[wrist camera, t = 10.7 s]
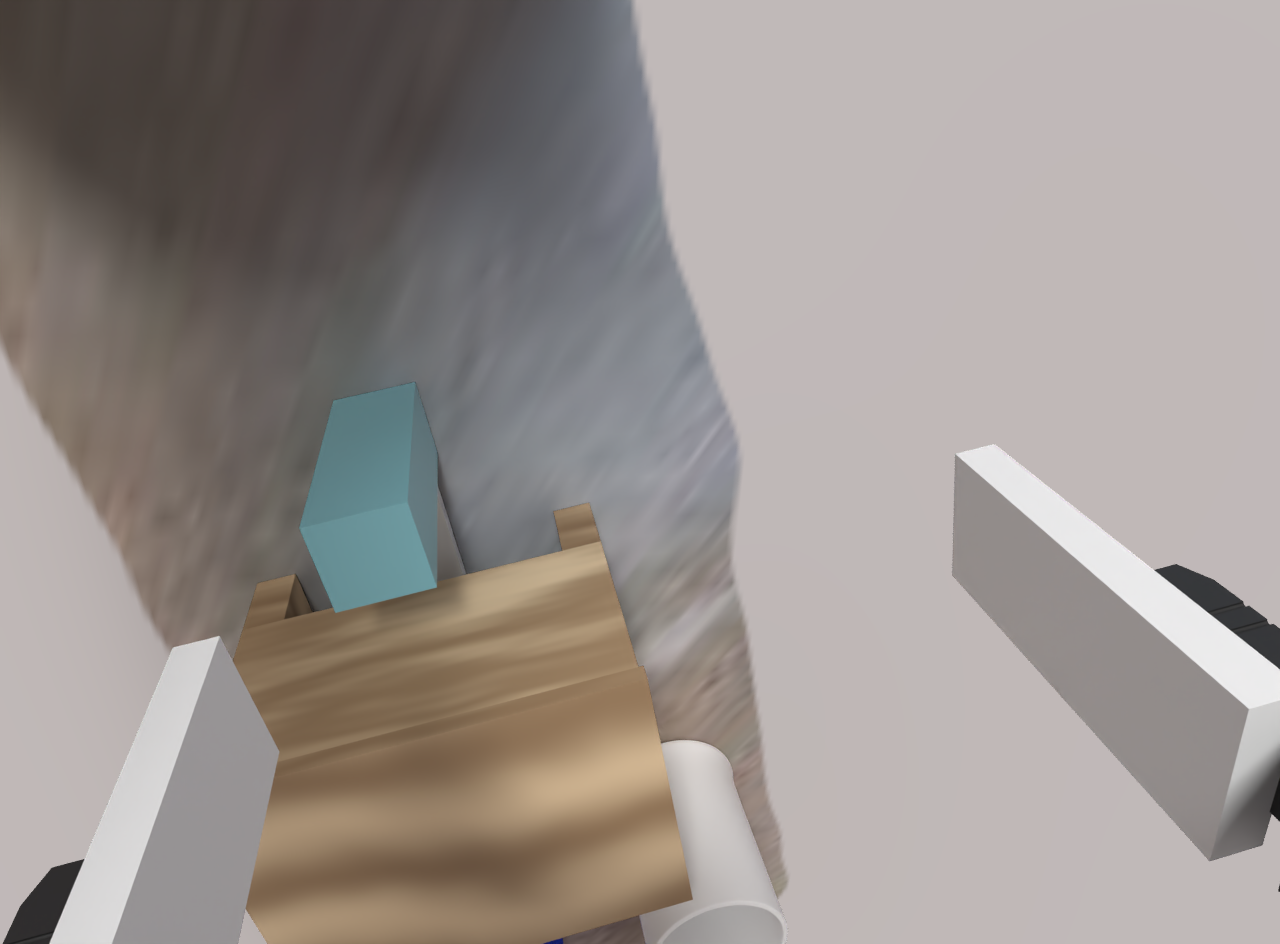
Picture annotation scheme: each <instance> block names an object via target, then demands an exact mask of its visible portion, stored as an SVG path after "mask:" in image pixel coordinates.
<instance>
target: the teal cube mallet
mask: <svg viewBox="0 0 1280 944" xmlns="http://www.w3.org/2000/svg"><path fill="white" fill-rule="evenodd" d="M437 469H438V452H437V449H436V446H435V443H434V440H433V437H432V434H431V430H430V427H429V424H428V421H427V418H426V415H425V411H424V408H423V405H422V402H421V399H420V396H419V392H418V389H417V386H416V383H415V382H413V383H408V384H404V385H399V386H395V387H391V388H386V389H382V390H378V391H373V392H369V393H364V394H360V395H356V396H351V397H347V398H343V399H338V400H334V401H333V404H332V408H331V412H330V415H329V419H328V423H327V427H326V430H325V434H324V438H323V441H322V445H321V449H320V453H319V456H318V460H317V464H316V468H315V471H314V475H313V479H312V483H311V486H310V490H309V494H308V497H307V501H306V505H305V509H304V512H303V516H302V520H301V524H300V527H299V529H300V531H301V534H302V536H303V538H304V541H305V543H306V545H307V548H308V550H309V552H310V555H311V557H312V559H313V562H314V564H315V566H316V569H317V571H318V573H319V576H320V578H321V580H322V583H323V585H324V587H325V590H326V592H327V594H328V597H329V599H330V601H331V604H332V606H333V609H334V611H335V613H337V612H341V611H345V610H349V609H353V608H357V607H361V606H365V605H369V604H373V603H377V602H381V601H385V600H389V599H393V598H397V597H401V596H405V595H409V594H413V593H417V592H421V591H425V590H429V589H433V588H437V582H438V581H442V580H446V579H450V578H454V577H458V576H462V575H466V571H465V568H464V565H463V562H462V559H461V556H460V553H459V550H458V547H457V543H456V540H455V537H454V534H453V531H452V528H451V525H450V522H449V519H448V516H447V513H446V509H445V506H444V503H443V500H442V497H441V494H440V491H439V488H438V485H437Z"/></svg>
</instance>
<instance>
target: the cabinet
mask: <svg viewBox="0 0 1280 944" xmlns="http://www.w3.org/2000/svg"><path fill="white" fill-rule="evenodd" d="M553 512H554V516H555V520H556V525H557V529H558V534H559V538H560V543H561V547H562V551H559V552H555V553H551V554H547V555H543V556H539V557H535V558H531V559H527V560H523V561H519V562H515V563H511V564H507V565H503V566H499V567H495V568H491V569H487V570H483V571H479V572H475V573H471V574H466V575H462V576H458V577H454V578H450V579H446V580H442V581H438V582H437V588H433V589H429V590H425V591H421V592H417V593H413V594H409V595H405V596H401V597H397V598H393V599H389V600H385V601H381V602H377V603H373V604H369V605H365V606H361V607H357V608H353V609H349V610H345V611H341V612H337V613H335V611H334V609H333V608H329V609H325V610H321V611H317V612H312V610H311V608H310V606H309V603H308V601H307V599H306V597H305V594H304V592H303V590H302V587H301V585H300V583H299V581H298V578H297V576H296V574H293V575H289V576H285V577H281V578H277V579H273V580H268V581H264V582H260V583H257V586H256V589H255V593H254V596H253V599H252V602H251V605H250V608H249V612H248V615H247V618H246V621H245V624H244V627H243V630H242V634H241V637H240V640H239V643H238V646H237V649H236V653H235V656H234V659H233V663H234V665H235V667H236V669H237V670H238V672H239V674H240V676H241V678H242V680H243V682H244V684H245V686H246V688H247V690H248V692H249V694H250V696H251V698H252V700H253V702H254V703H255V705H256V707H257V709H258V711H259V713H260V715H261V717H262V719H263V721H264V723H265V725H266V727H267V729H268V731H269V733H270V734H271V736H272V738H273V740H274V742H275V744H276V746H277V748H278V750H279V756H278V761H277V765H276V770H275V774H274V779H273V784H272V788H271V793H270V798H269V802H268V807H267V811H266V816H265V821H264V825H263V830H262V835H261V839H260V844H259V849H258V853H257V858H256V862H255V867H254V872H253V876H252V881H251V886H250V890H249V895H248V900H247V904H246V910H247V912H248V913H249V914H250V916H251V918H252V920H253V921H254V923H255V924H256V926H257V927H258V929H259V931H260V932H261V934H262V935H263V937H264V939H265V940H266V942H267V944H543V943H546V942H550V941H553V940H556V939H560V938H563V937H567V936H570V935H574V934H577V933H580V932H584V931H587V930H591V929H594V928H598V927H601V926H604V925H608V924H611V923H615V922H618V921H622V920H625V919H628V918H632V917H635V916H639V915H642V914H646V913H649V912H652V911H656V910H659V909H663V908H666V907H670V906H673V905H676V904H680V903H683V902H687V901H690V900H693V897H692V892H691V887H690V883H689V878H688V873H687V868H686V863H685V858H684V853H683V849H682V844H681V839H680V834H679V829H678V824H677V820H676V815H675V810H674V805H673V800H672V795H671V790H670V786H669V781H668V776H667V771H666V766H665V761H664V756H663V752H662V747H661V742H660V737H659V732H658V727H657V723H656V718H655V713H654V708H653V703H652V698H651V693H650V689H649V684H648V679H647V676H646V672H645V669H644V666H640V667H638V664H637V661H636V657H635V654H634V651H633V647H632V644H631V641H630V637H629V634H628V631H627V627H626V624H625V621H624V617H623V614H622V611H621V607H620V604H619V601H618V597H617V594H616V591H615V587H614V584H613V581H612V577H611V574H610V571H609V567H608V564H607V561H606V557H605V554H604V551H603V547H602V544H601V541H600V537H599V534H598V531H597V527H596V524H595V521H594V517H593V514H592V511H591V507H590V504H589V503H585V504H581V505H577V506H573V507H569V508H565V509H561V510H557V511H553Z"/></svg>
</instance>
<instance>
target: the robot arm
mask: <svg viewBox="0 0 1280 944" xmlns="http://www.w3.org/2000/svg"><path fill="white" fill-rule="evenodd" d="M953 526H954V527H953V565H952V566H953V567H952V568H953V569H952V575H953V577H954V578H955V579H956V580H957V581H958V582H959V583H960V585H961V586H962V587H963V588H964V589H965V590H966V591H967V592H968V593H969V595H971V597H972V598H973V599H974V600H975V601H976V602H977V603H978V604H979V606H980V607H981V608H982V609H983V610H984V611H985V612H986V613H987V615H988V616H989V617H990V618H991V619H992V620H993V621H994V622H995V623H996V624H997V626H998V627H999V628H1000V629H1001V630H1002V631H1003V632H1004V633H1005V634H1006V636H1007V637H1008V638H1009V639H1010V640H1011V641H1012V642H1013V643H1014V644H1015V646H1016V647H1017V648H1018V649H1019V650H1020V651H1021V652H1022V653H1023V655H1024V656H1025V657H1026V658H1027V659H1028V660H1029V661H1030V662H1031V663H1032V664H1033V665H1034V667H1035V668H1036V669H1037V670H1038V671H1039V672H1040V673H1041V674H1042V676H1043V677H1044V678H1045V679H1046V680H1047V681H1048V682H1049V683H1050V685H1051V686H1052V687H1053V688H1054V689H1055V690H1056V691H1057V692H1058V693H1059V694H1060V695H1061V697H1062V698H1063V699H1064V700H1065V701H1066V702H1067V703H1068V705H1069V706H1070V707H1071V708H1072V709H1073V710H1074V711H1075V712H1076V713H1077V715H1078V716H1079V717H1080V718H1081V719H1082V720H1083V721H1084V722H1085V723H1086V725H1088V727H1089V728H1090V729H1091V730H1092V731H1093V732H1094V733H1095V734H1096V736H1097V737H1098V738H1099V739H1100V740H1101V741H1102V742H1103V743H1104V745H1105V746H1106V747H1107V748H1108V749H1109V750H1110V751H1111V752H1112V753H1113V755H1114V756H1115V757H1116V758H1117V759H1118V760H1119V761H1120V762H1121V763H1122V765H1123V766H1124V767H1125V768H1126V769H1127V770H1128V771H1129V772H1130V773H1131V775H1132V776H1133V777H1134V778H1135V779H1136V780H1137V781H1138V782H1139V783H1140V784H1141V786H1142V787H1143V788H1144V789H1145V790H1146V791H1147V792H1148V793H1149V794H1150V796H1151V797H1152V798H1153V799H1154V800H1155V801H1156V802H1157V803H1158V804H1159V806H1160V807H1161V808H1162V809H1163V810H1164V811H1165V812H1166V813H1167V814H1168V815H1169V817H1170V818H1171V819H1172V820H1173V821H1174V822H1175V823H1176V825H1177V826H1178V827H1179V828H1180V829H1181V830H1182V831H1183V832H1184V833H1185V835H1186V836H1187V837H1188V838H1189V839H1190V840H1191V841H1192V842H1193V843H1194V845H1195V846H1196V847H1197V848H1198V849H1199V850H1200V851H1201V852H1202V853H1203V854H1204V856H1205V857H1206V858H1207V859H1208V860H1209V861H1212V860H1215V859H1219V858H1222V857H1226V856H1229V855H1232V854H1235V853H1238V852H1242V851H1245V850H1248V849H1252V848H1255V847H1258V846H1261V845H1262V844H1263V841H1264V838H1265V834H1266V831H1267V828H1268V824H1269V821H1270V818H1271V814H1272V815H1274V816H1275V817H1276V818H1277V819H1278V820H1279V821H1280V628H1278V627H1277V626H1276V625H1274V624H1271V625H1270V624H1268V622H1267V619H1266V618H1265V617H1263V616H1262V615H1261V614H1259V613H1258V612H1257V611H1255V610H1254V609H1253V608H1251V607H1250V606H1247V607H1245V605H1244V604H1243V601H1242V600H1240V599H1239V598H1238V597H1236V596H1235V595H1234V594H1232V593H1231V592H1229V591H1228V590H1227V589H1226V588H1224V587H1223V586H1221V585H1220V584H1219V583H1217V582H1216V581H1215V580H1213V579H1211V578H1208V577H1205V576H1203V575H1201V574H1199V573H1196V572H1194V571H1191V570H1189V569H1187V568H1184V567H1182V566H1179V565H1177V564H1175V565H1171V566H1168V567H1164V568H1160V569H1156V570H1153V569H1152V568H1151V567H1149V566H1148V565H1147V564H1145V563H1144V562H1143V561H1142V560H1141V559H1139V558H1138V557H1137V556H1135V555H1134V554H1133V553H1132V552H1130V551H1129V550H1128V549H1127V548H1125V547H1124V546H1123V545H1122V544H1120V543H1119V542H1118V541H1116V540H1115V539H1114V538H1113V537H1111V536H1110V535H1109V534H1107V533H1106V532H1105V531H1104V530H1103V529H1101V528H1100V527H1099V526H1098V525H1096V524H1095V523H1094V522H1092V521H1091V520H1090V519H1089V518H1087V517H1086V516H1085V515H1084V514H1082V513H1081V512H1079V510H1077V509H1076V508H1075V507H1073V506H1072V505H1071V504H1069V503H1068V502H1067V501H1066V500H1065V499H1063V498H1062V497H1061V496H1060V495H1058V494H1057V493H1056V492H1054V491H1053V490H1052V489H1051V488H1049V487H1048V486H1047V485H1046V484H1044V483H1043V482H1042V481H1040V480H1039V479H1038V478H1037V477H1035V476H1034V475H1033V474H1032V473H1030V472H1029V471H1028V470H1027V469H1025V468H1024V467H1023V466H1022V465H1020V464H1019V463H1018V462H1016V461H1015V460H1014V459H1013V458H1011V457H1010V456H1009V455H1008V454H1006V453H1005V452H1004V451H1002V450H1001V449H1000V448H999V447H997V446H996V445H995V444H994V445H989V446H985V447H981V448H977V449H973V450H969V451H965V452H961V453H957V454H955V482H954V523H953ZM278 756H279V750H278V748H277V746H276V744H275V742H274V740H273V738H272V736H271V734H270V733H269V731H268V729H267V727H266V725H265V723H264V721H263V719H262V717H261V715H260V713H259V711H258V709H257V707H256V705H255V703H254V702H253V700H252V698H251V696H250V694H249V692H248V690H247V688H246V686H245V684H244V682H243V680H242V678H241V676H240V674H239V672H238V670H237V669H236V667H235V665H234V663H233V661H232V659H231V657H230V655H229V653H228V651H227V649H226V647H225V645H224V643H223V641H222V639H221V638H220V636H218V637H214V638H210V639H206V640H202V641H198V642H194V643H190V644H186V645H182V646H177V647H173V648H172V651H171V653H170V656H169V658H168V660H167V663H166V665H165V668H164V670H163V672H162V675H161V677H160V680H159V682H158V684H157V687H156V689H155V692H154V694H153V696H152V699H151V701H150V704H149V706H148V708H147V711H146V713H145V716H144V718H143V720H142V723H141V725H140V728H139V730H138V732H137V735H136V737H135V740H134V742H133V744H132V747H131V749H130V752H129V754H128V757H127V759H126V761H125V764H124V766H123V768H122V771H121V773H120V775H119V778H118V780H117V783H116V785H115V787H114V790H113V792H112V795H111V797H110V799H109V802H108V804H107V807H106V809H105V811H104V814H103V816H102V819H101V821H100V823H99V826H98V828H97V831H96V833H95V836H94V838H93V840H92V843H91V845H90V847H89V850H88V852H87V855H86V857H85V859H83V860H79V861H75V862H72V863H68V864H64V865H60V866H57V867H53V868H51V870H50V871H49V872H48V873H47V874H46V876H45V877H44V878H43V879H42V880H41V882H40V883H39V884H38V885H37V886H36V888H35V889H34V890H33V891H32V892H31V894H30V895H29V896H28V897H27V899H26V900H25V901H24V902H23V904H22V905H21V906H20V908H19V910H18V912H17V914H16V917H15V919H14V921H13V923H12V925H11V927H10V929H9V931H8V934H7V936H6V938H5V940H4V942H3V944H238V941H239V936H240V932H241V927H242V923H243V918H244V913H245V909H246V904H247V900H248V895H249V890H250V886H251V881H252V876H253V872H254V867H255V862H256V858H257V853H258V849H259V844H260V839H261V835H262V830H263V825H264V821H265V816H266V811H267V807H268V802H269V798H270V793H271V788H272V784H273V779H274V774H275V770H276V765H277V761H278ZM1279 892H1280V886H1279Z"/></svg>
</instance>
